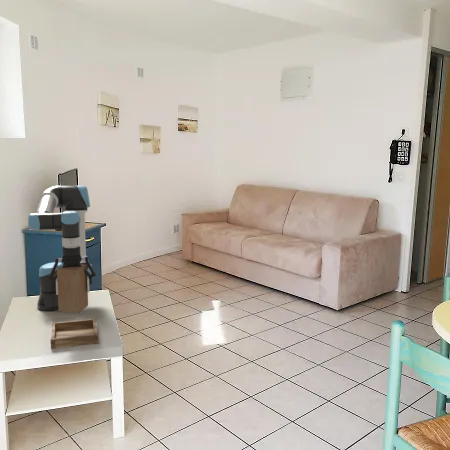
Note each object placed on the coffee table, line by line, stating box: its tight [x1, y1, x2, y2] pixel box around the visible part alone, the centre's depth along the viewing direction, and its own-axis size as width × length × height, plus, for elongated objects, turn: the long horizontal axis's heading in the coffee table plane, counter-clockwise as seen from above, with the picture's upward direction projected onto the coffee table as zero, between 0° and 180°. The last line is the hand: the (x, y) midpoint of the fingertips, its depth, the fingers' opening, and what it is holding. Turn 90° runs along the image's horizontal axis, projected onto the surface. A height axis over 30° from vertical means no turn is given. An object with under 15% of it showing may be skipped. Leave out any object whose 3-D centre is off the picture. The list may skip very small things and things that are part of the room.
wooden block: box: [57, 264, 89, 314], centre depth 214 cm, size 10×10×20 cm
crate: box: [50, 318, 100, 349], centre depth 218 cm, size 20×20×4 cm
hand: (73, 292), depth 214 cm, fingers closed on wooden block, 13 cm apart
